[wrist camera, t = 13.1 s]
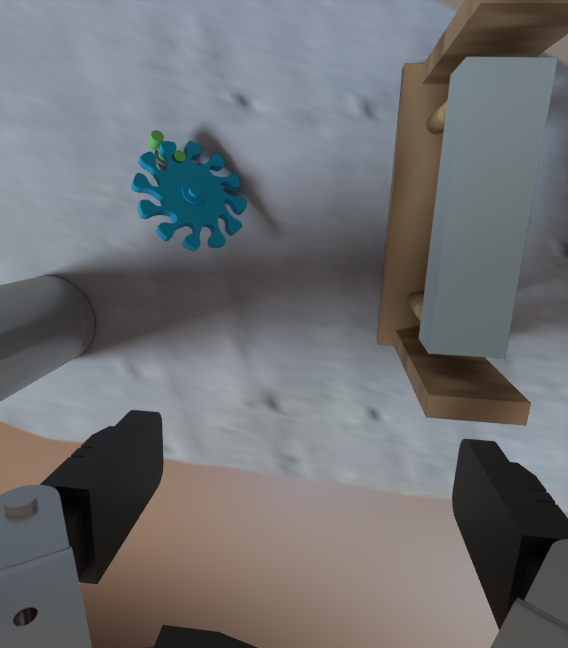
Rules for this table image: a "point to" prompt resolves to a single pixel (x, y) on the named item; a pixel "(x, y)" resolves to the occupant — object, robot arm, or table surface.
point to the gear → (187, 192)
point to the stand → (419, 202)
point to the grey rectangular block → (484, 202)
